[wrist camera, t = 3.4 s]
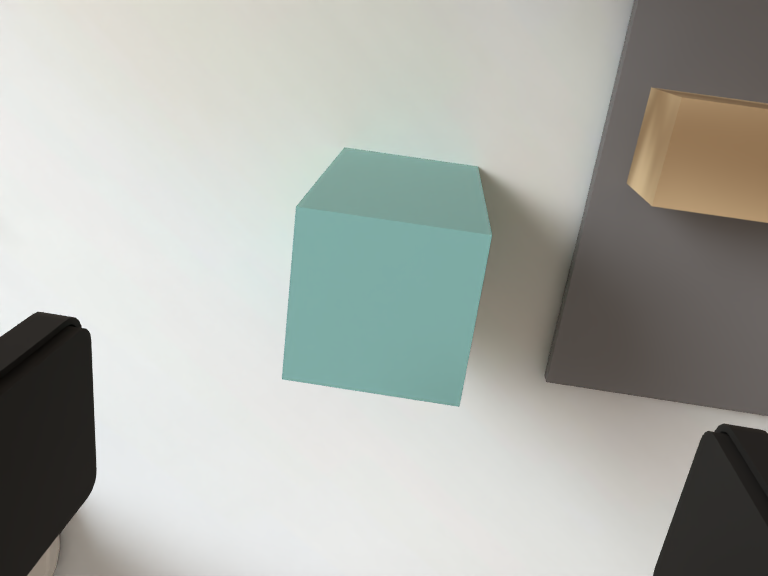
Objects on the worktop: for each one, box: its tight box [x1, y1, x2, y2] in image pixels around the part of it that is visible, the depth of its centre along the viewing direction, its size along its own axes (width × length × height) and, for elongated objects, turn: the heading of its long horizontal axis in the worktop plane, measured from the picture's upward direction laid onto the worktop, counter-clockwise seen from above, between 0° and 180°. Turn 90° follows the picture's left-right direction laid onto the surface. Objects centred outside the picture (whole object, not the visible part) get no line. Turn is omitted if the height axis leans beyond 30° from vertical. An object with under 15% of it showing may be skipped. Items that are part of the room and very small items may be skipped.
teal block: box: [282, 148, 492, 407], centre depth 20 cm, size 4×4×8 cm
